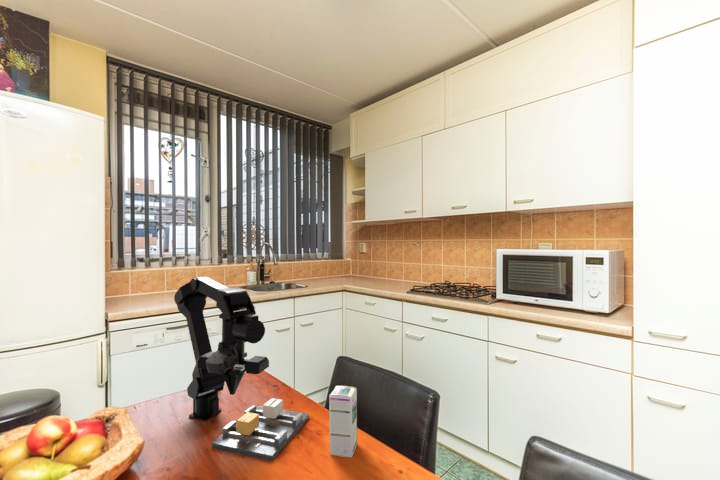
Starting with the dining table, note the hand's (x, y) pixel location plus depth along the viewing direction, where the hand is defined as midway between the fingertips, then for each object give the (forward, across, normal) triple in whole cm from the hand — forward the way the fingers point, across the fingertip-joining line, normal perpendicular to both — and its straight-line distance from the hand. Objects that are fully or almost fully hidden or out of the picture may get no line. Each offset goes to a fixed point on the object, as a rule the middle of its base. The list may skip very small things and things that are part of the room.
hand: (232, 394), depth 89 cm
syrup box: (+10, +32, 0) cm, 33 cm away
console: (+10, +9, +2) cm, 13 cm away
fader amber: (+9, +6, -3) cm, 11 cm away
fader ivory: (+9, +9, +6) cm, 14 cm away
